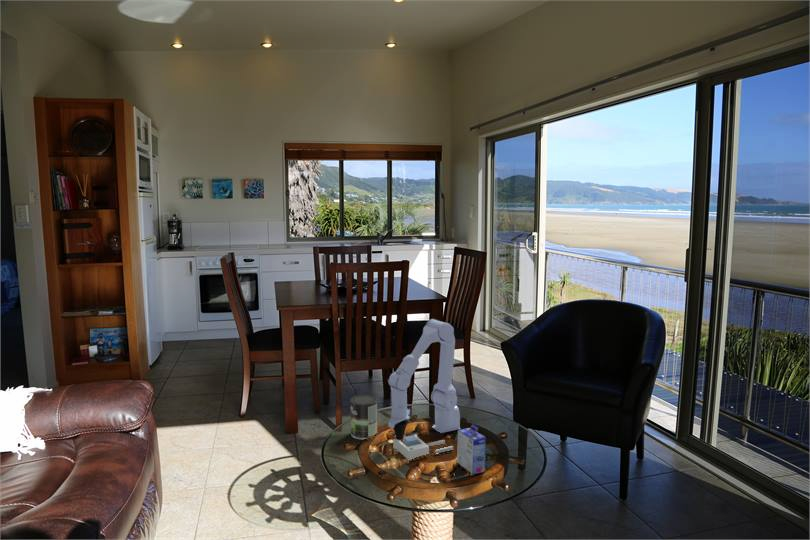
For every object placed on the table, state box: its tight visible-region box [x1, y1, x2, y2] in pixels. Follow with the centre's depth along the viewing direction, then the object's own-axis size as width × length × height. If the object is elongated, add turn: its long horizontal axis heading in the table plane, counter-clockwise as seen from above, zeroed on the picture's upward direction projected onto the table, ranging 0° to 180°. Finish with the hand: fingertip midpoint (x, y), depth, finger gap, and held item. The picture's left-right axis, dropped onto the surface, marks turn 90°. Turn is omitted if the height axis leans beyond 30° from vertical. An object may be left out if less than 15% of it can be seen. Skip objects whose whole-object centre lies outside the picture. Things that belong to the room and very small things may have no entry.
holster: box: [426, 439, 454, 453], centre depth 208 cm, size 7×7×2 cm
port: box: [392, 434, 430, 461], centre depth 206 cm, size 10×11×4 cm
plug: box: [403, 434, 418, 447], centre depth 207 cm, size 4×5×5 cm
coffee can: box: [349, 394, 378, 441], centre depth 222 cm, size 10×10×14 cm
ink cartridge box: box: [456, 424, 487, 475], centre depth 194 cm, size 10×6×14 cm, turn 27°
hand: (399, 439), depth 215 cm, fingers closed
